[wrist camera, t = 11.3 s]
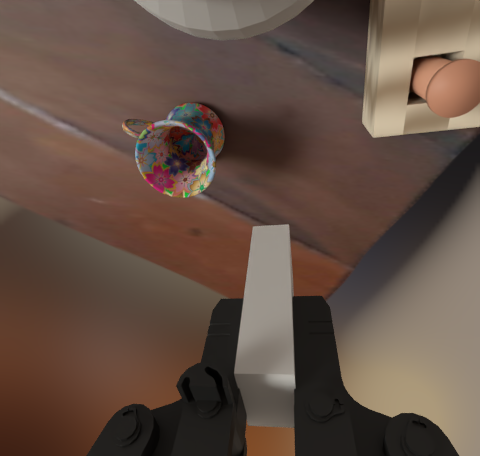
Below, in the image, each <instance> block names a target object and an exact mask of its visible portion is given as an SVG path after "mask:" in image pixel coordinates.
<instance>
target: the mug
mask: <svg viewBox="0 0 480 456" xmlns="http://www.w3.org/2000/svg"><path fill="white" fill-rule="evenodd" d="M128 125H141V126H147V128H146V129H145V130H144V131H143V132H142V133H139V132H136V131H134V130H132V129H131V128H129V127H128ZM122 128H123V130H124V131H125V132H126V133H127V134H129V135H130V136H132V137H135V138H137V139H138V141H137V144H136V151H135V154H136V162H137V165H138V168H139V170H140V172H141V174H142V176H143V177H144V178H145V180H146V181H147V182H148V183H149V184H150V185H151V186H152V187H154V188H155V189H156V190H158V191H160V192H161V193H163V194H166V195H169V196H172V197H179V198H185V197H191V196H195V195H197V194H199V193H201V192H202V191H204V190H205V189H206V188H207V187H208V186H209V185H210V183H211V182H212V180H213V178H214V175H215V171H216V158H215V157H217V155H218V154H219V153H220V152H221V150H222V148H223V145H224V139H225V134H224V129H223V125H222V123H221V121H220V119H219V118H218V116H217V115H216V114H215V113H214V112H213V111H212V110H211V109H209V108H208V107H206V106H204V105H201V104H198V103H184V104H181V105H179V106H177V107H175V108H174V109H173V110H172V111H171V112H170V113H169V115H168V116H167V118H166V120H162V121H158V122H156V123H154V122H151V121H146V120H139V119H128V120H125V121H124V122H123V125H122Z"/></svg>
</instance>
